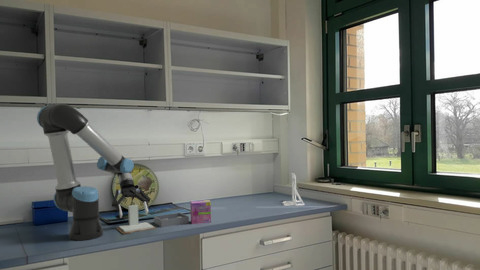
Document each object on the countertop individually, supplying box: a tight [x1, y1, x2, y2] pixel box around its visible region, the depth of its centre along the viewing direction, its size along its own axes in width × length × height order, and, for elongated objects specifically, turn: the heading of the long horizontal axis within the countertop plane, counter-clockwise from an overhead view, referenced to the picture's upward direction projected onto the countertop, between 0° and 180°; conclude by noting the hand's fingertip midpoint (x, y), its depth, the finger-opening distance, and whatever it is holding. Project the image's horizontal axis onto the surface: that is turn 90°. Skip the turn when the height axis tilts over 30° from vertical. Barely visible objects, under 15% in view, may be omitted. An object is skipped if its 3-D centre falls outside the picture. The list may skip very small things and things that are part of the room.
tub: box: [153, 212, 190, 228], centre depth 205 cm, size 15×12×4 cm
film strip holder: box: [282, 172, 306, 207], centre depth 254 cm, size 14×14×20 cm
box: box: [190, 199, 212, 225], centre depth 205 cm, size 10×6×12 cm, turn 105°
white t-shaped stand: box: [118, 204, 155, 233], centre depth 195 cm, size 15×12×11 cm
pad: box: [115, 223, 158, 235], centre depth 195 cm, size 17×14×1 cm
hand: (134, 214), depth 198 cm, fingers open, 13 cm apart
